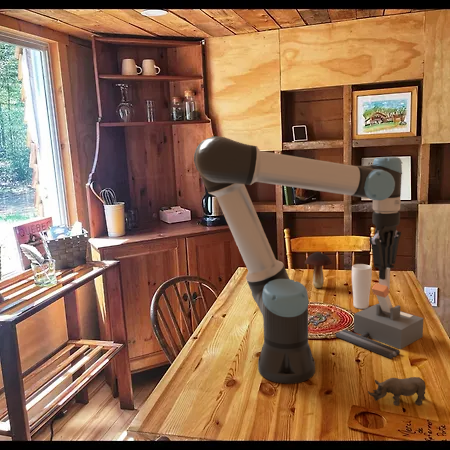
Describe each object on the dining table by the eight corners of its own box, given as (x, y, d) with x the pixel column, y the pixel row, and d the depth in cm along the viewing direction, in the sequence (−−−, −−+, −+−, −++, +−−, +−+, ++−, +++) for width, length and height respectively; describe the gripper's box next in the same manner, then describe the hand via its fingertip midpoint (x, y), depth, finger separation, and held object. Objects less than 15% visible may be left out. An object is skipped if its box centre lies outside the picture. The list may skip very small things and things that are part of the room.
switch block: (400, 349, 127) (401, 318, 125) (353, 331, 140) (354, 303, 138) (422, 336, 134) (423, 307, 133) (376, 321, 147) (376, 293, 145)
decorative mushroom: (299, 286, 184) (299, 251, 181) (321, 281, 189) (321, 247, 186) (315, 294, 174) (315, 257, 171) (338, 289, 179) (338, 253, 176)
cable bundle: (391, 359, 122) (391, 355, 121) (334, 336, 137) (334, 332, 137) (407, 350, 126) (407, 346, 126) (350, 329, 142) (350, 325, 141)
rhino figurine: (364, 397, 105) (364, 374, 104) (422, 395, 105) (423, 372, 104) (370, 408, 101) (370, 384, 100) (430, 405, 101) (431, 381, 100)
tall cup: (368, 303, 163) (369, 263, 160) (372, 310, 156) (373, 269, 153) (349, 303, 163) (350, 264, 160) (353, 310, 157) (353, 269, 154)
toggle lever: (392, 318, 134) (383, 291, 129) (381, 314, 137) (371, 288, 132) (397, 312, 135) (387, 286, 130) (385, 309, 138) (375, 283, 133)
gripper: (385, 215, 121) (382, 297, 126) (410, 209, 129) (407, 286, 134) (361, 212, 127) (360, 290, 132) (387, 206, 135) (385, 280, 140)
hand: (384, 288), depth 133 cm, fingers closed
